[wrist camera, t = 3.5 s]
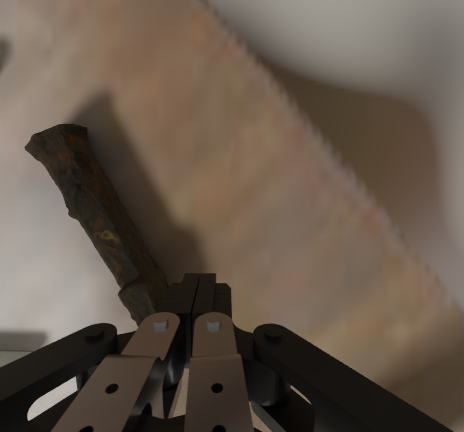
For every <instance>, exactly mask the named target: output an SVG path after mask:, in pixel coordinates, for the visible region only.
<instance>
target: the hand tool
mask: <svg viewBox="0 0 464 432" xmlns="http://www.w3.org/2000/svg"><path fill="white" fill-rule="evenodd" d="M86 135H87V127H82V126H79V125H75V124H59V125H56V126H54V127H51V128H49V129H46V130H44V131H42V132H39V133H36V134H34V135H32V137H31V140H30V141H29V143H28V144H27V145H26V146H25V150H26V151H28V152H29V153H30V154H31V155H32V156H33V157H34V158H35V159H36V160H38V161H40V162H41V163H42V164H43V165H44V166H45V167H46V169H47V171H48V172H49V174H50V176H51V177H52V179H53V180H54V182H55V184H56V185H57V186H58V187H59V189H60V191H61V193H62V195H63V197H64V200H65V204H66V207H67V208H68V209H69V213H68V215H69V216H70V217H72V218H74V219H77V220H78V221H79V222H80V224H81V226H82V227H83V228H84V230H85V231H86V233H87V235H88V236H89V238H90V239H91V241H92V243H93V245H94V246H95V248H96V249H97V251H98V252H99V254H100V256H101V257H102V259H103V260H104V262H105V263H106V265H107V266H108V268H109V269H110V271H111V272H112V274H113V275H114V277H115V279H116V281H117V283H118V285H119V286H120V288H121V290H120V291H119V293H118V296H119V298H120V300H121V301H122V303H123V305H124V306H125V307H126V308H127V309H128V310H129V312H130V314H131V318H132V319H133V320H134V321H136V323H137V326H138V327H139V326H140V324H141V323H142V321H143V320H144V319H145V318H147V317H148V316H150V315H152V314H155V313H156V311H157V309H158V307H159V305H160V303H161V300H162V298H163V296H164V294H165V292H166V290H167V288H168V285H167V282H166V279H165V277H164V274H163V272H162V270H161V269H160V268H159V267H156V266H155V265H154V263H153V261H152V259H151V258H150V256H149V254H148V252H147V250H146V248H145V246H144V244H143V243H142V241H141V239H140V237H139V236H138V234H137V231H136V229H135V227H134V225H133V223H132V221H131V220H130V219H129V217H128V216H127V214H126V212H125V210H124V208H123V206H122V205H121V203H120V201H119V198H118V197H117V195H116V193H115V191H114V189H113V187H112V185H111V183H110V180H109V179H108V178H107V177H106V176H105V174H104V172H103V170H102V169H101V168H100V166H99V164H98V162H97V160H96V159H95V157H94V156H93V154H92V152H91V150H90V148H89V146H88V144H87V141H86Z"/></svg>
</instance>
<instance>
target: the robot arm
mask: <svg viewBox="0 0 464 432" xmlns="http://www.w3.org/2000/svg"><path fill="white" fill-rule="evenodd" d="M184 368H189V379H188V390H187V402H186V414H185V415H181V416H177V417H173V415H174V411H175V408H176V404H177V401H178V397H179V394H180V391H181V387H182V376H183V372H184ZM75 376H76V382H77V391H76V392H74V393H73V394H71V395H70V396H68V397H66V398H65V399H63V400H62V401H60V402H59V403H57V404H55V405H54V406H52V407H51V408H49V409H47V410H46V411H44V412H43V413H41V414H40V415H38V416H36V417H35V418H33V419H32V420H30V421H28V419H27V413H28V410H29V408H30V407H31V405H32V404H33V403H34V402H35V401H36V400H37V399H38V398H40V397H41V396H43V395H45V394H46V393H48V392H50V391H51V390H53V389H55V388H56V387H58V386H60V385H61V384H63V383H65V382H67V381H68V380H70V379H72V378H73V377H75ZM291 385H292V386H293V387H294V388H295V389H297V390H298V391H299V392H300V393H302V394H303V395H304V396H305V397H306V398H307V399H308V400H309V401H310V403H311V404H312V405H311V404H310V403H308V402H307V401H306V400H305V399H303V398H302V397H301V396H300V395H299V394H297V393H296V392H295V391H294V390H293V389H291ZM249 401H250V402H251V407H252V410H253V411H254V413H255V414H256V415H257V416H258V417H259V418H260V419H261V420H262V421H263V422H264V424H265V425H266V426H267V427H268V428H269V429H270V430H271V431H272V432H453V431H452V430H450V429H448V428H447V427H445V426H444V425H442V424H440V423H439V422H437V421H436V420H434V419H432V418H431V417H429V416H427V415H426V414H424V413H423V412H421V411H419V410H418V409H416V408H415V407H413V406H411V405H410V404H408V403H406V402H405V401H403V400H402V399H400V398H398V397H397V396H395V395H394V394H392V393H390V392H389V391H387V390H385V389H384V388H382V387H381V386H379V385H377V384H376V383H374V382H373V381H371V380H369V379H368V378H366V377H364V376H363V375H361V374H360V373H358V372H356V371H355V370H353V369H352V368H350V367H348V366H347V365H345V364H343V363H342V362H340V361H339V360H337V359H335V358H334V357H332V356H331V355H329V354H327V353H326V352H324V351H322V350H321V349H319V348H318V347H316V346H314V345H313V344H311V343H310V342H308V341H306V340H305V339H303V338H301V337H300V336H298V335H297V334H295V333H293V332H292V331H290V330H289V329H287V328H285V327H283V326H281V325H277V324H263V325H260V326H258V327H257V328H256V329H255V330H254V331H253V333H250V332H246V331H243V330H241V329H239V328H237V327H236V326H235V325H234V324H233V322H232V307H231V288H230V287H229V286H228V284H227V283H216V273H201V274H200V273H185V276H184V278H183V281H182V283H174V284H172V285H171V286H170V287H168V288H167V290H166V292H165V294H164V296H163V298H162V300H161V303H160V305H159V307H158V309H157V311H156V313H155V314H152V315H150V316H148V317H147V318H145V319H144V320H143V321H142V323H141V324H140V326H139V327H138V329H137V330H136V331H133V332H129V333H124V334H119V335H117V328H116V327H115V326H114V325H112V324H108V323H99V324H94V325H90V326H88V327H85V328H83V329H81V330H79V331H77V332H75V333H72V334H70V335H68V336H66V337H64V338H62V339H60V340H57V341H55V342H53V343H51V344H49V345H47V346H45V347H42V348H40V349H38V350H36V351H34V352H32V353H30V354H28V355H25V356H23V357H21V358H19V359H17V360H15V361H13V362H10V363H8V364H6V365H4V366H2V367H0V432H262V431H260V430H258V429H256V428H254V427H253V422H252V416H251V411H250V405H249Z"/></svg>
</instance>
